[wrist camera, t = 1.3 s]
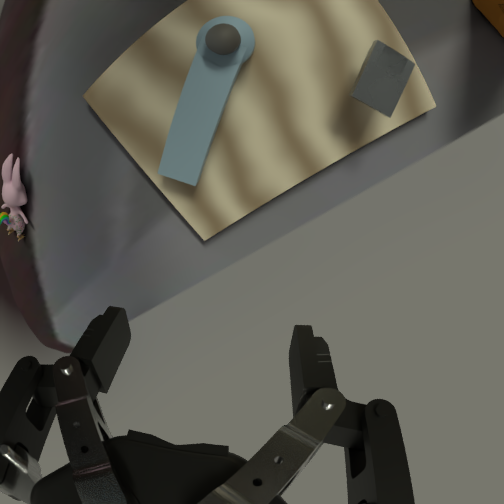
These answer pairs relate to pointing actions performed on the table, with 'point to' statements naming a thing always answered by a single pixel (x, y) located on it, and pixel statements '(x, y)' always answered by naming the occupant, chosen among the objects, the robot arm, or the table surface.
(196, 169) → the link
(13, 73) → the table surface
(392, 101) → the block
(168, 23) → the pivot board
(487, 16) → the coffee package
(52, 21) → the table surface
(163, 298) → the table surface
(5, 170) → the rabbit figure
